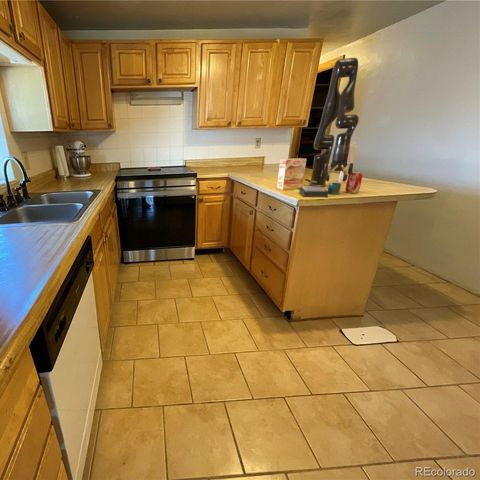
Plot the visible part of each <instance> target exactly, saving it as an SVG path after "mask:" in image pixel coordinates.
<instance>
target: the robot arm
mask: <svg viewBox="0 0 480 480" xmlns="http://www.w3.org/2000/svg"><path fill="white" fill-rule="evenodd" d="M358 70H359V60H358V58H357V57H348V58H347V57H345V58H339V59H337V60H336V61H335V63H334V65H333V69H332V72H331V77H330V84H329V88H328V91H327V95H326V99H325V104H324V107H323V110H322V113H321V118H320V123H319V125H318V126H319V127H318V129H317V132H316V135H315V138H314V142H313V149H314V150H317V151H318V150H319V151H320V150H324V151H323V152H321V153H319V154H316V155H314V157H313V158H314V159H313V164H312V172H311V176H310V177H311V178H310V179H309V178H304V180H305V181H308V182H309V186H321V187H326V185H327V184H326V183H327V182H329V181H330V177H331V174H332V173H333V172H341V171H343V173H344V176H343V181H345V180H347V176H348V174H352V172H353V167H354V162H352V163H348V164H347V160H348V155H349V150H350V144H351V143H350V142H352V137H353V135H354V132H355V130H356V128H357V126H358V124H359V121H360V118H359V116H358V114H356V113H354V114H353V113H352V114H348V113H351V112H352V111H354V109H355V90H356V84H357V79H358V72H359V71H358ZM343 78H344V79H345V78H348V82H347V83H346V86H345V87H344V89H342V92H340V90H339V89H340V88H339V80H340V79H343ZM334 121H335V124H334V125H335V127H336V128H337V129H338V130H341V129H342V130H344V129H346V131H344V132H341V133H337V135H336V139H335V136H334V134H325V132H326V131H327V129H328V128H329V127H330V126H331V125H332V124H333V122H334ZM334 144H335V145H334ZM332 151H333V152H332ZM331 157H332V159H331ZM330 161H331V162H330ZM347 165H348V167H349V169H348V172H347V171H346V169H345V167H346V166H347ZM329 168H330V169H329ZM329 183H330V182H329Z"/></svg>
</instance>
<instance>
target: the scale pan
mask: <svg viewBox="0 0 480 480" xmlns="http://www.w3.org/2000/svg"><path fill="white" fill-rule="evenodd" d="M302 188H303V189H304V190H305V191H325V190H327V189H326V188H325V187H323V186H311V185H307V186H306V185H305V186H304V185H302Z"/></svg>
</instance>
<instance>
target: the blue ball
mask: <svg viewBox="0 0 480 480" xmlns="http://www.w3.org/2000/svg"><path fill="white" fill-rule="evenodd" d="M341 187H342V183H339V182H329V183H328V187H327V191H328V192H329V193H328V195H339V194H340V192H341Z"/></svg>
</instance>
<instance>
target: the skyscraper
mask: <svg viewBox="0 0 480 480" xmlns="http://www.w3.org/2000/svg"><path fill="white" fill-rule="evenodd" d="M354 144H355V145H354ZM357 146H358V145H357V143H356V142H355V141H351V142H350V150H349V155H348V160H347V164H348V163H354V162H353V161H354V160H355V157H356V153H357ZM345 169H346V171H347V172H348V169H349V167H348V165H347V166H346V167H345ZM348 175H349V174H348ZM343 176H344V173H343V171H339V175H338V180H337V183H341V184H346V183H347V180H345V181H343ZM347 179H348V176H347Z"/></svg>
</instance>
